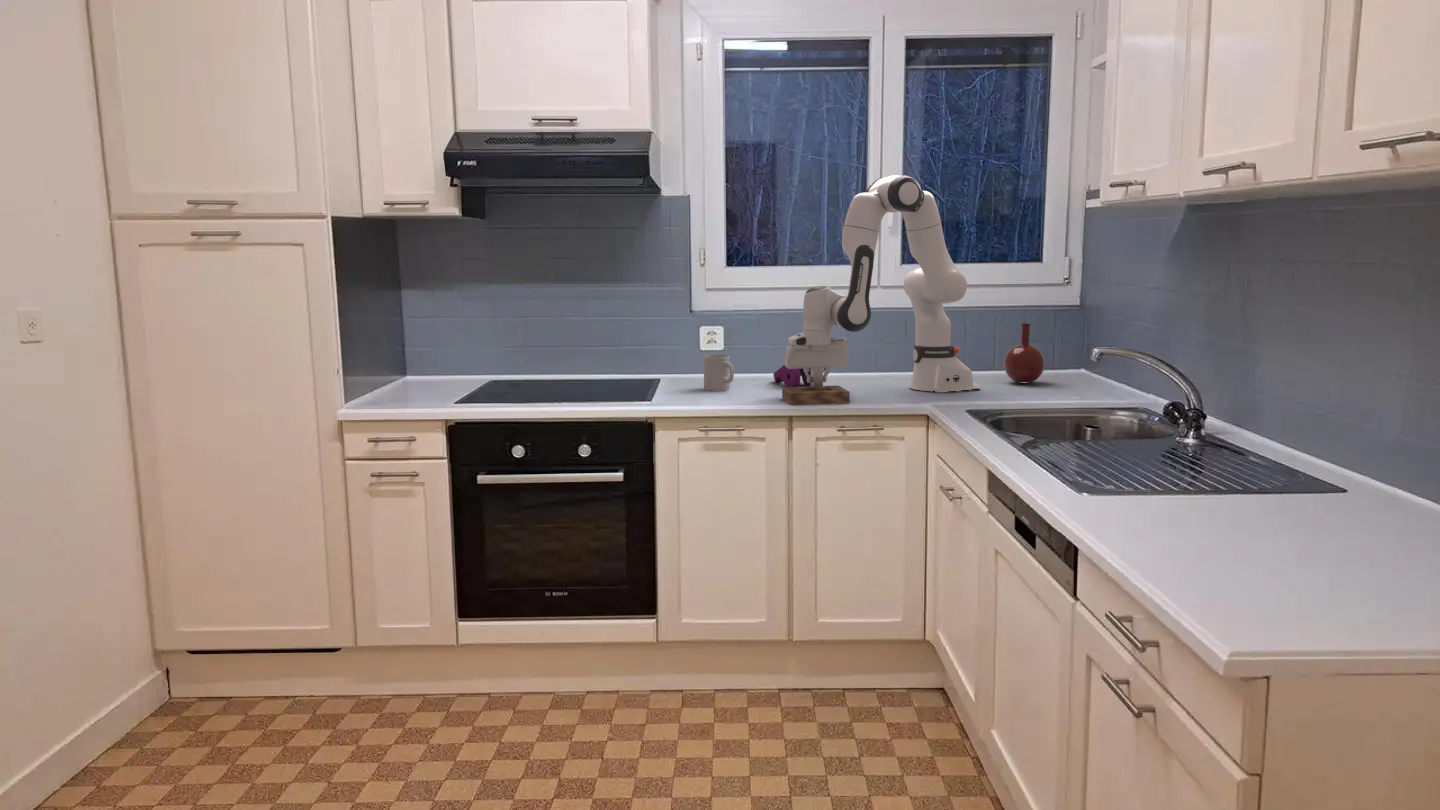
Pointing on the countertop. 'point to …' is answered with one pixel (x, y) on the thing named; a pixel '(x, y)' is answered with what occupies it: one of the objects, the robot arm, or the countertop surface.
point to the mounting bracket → (791, 376)
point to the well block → (815, 395)
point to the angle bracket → (817, 376)
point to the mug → (717, 372)
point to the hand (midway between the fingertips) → (816, 382)
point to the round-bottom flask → (1024, 360)
